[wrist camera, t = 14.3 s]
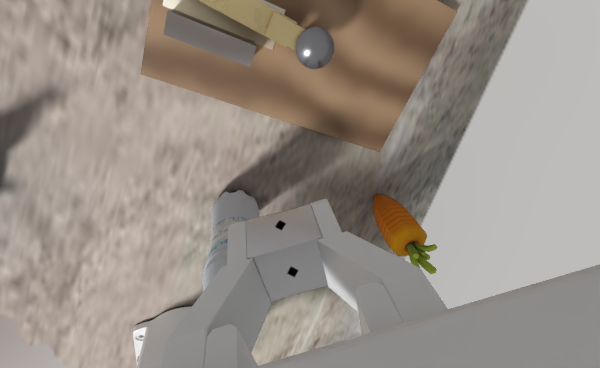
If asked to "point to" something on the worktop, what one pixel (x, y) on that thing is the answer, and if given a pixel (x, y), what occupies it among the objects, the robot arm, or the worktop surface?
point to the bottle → (226, 228)
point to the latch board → (291, 72)
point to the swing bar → (280, 29)
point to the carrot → (402, 231)
